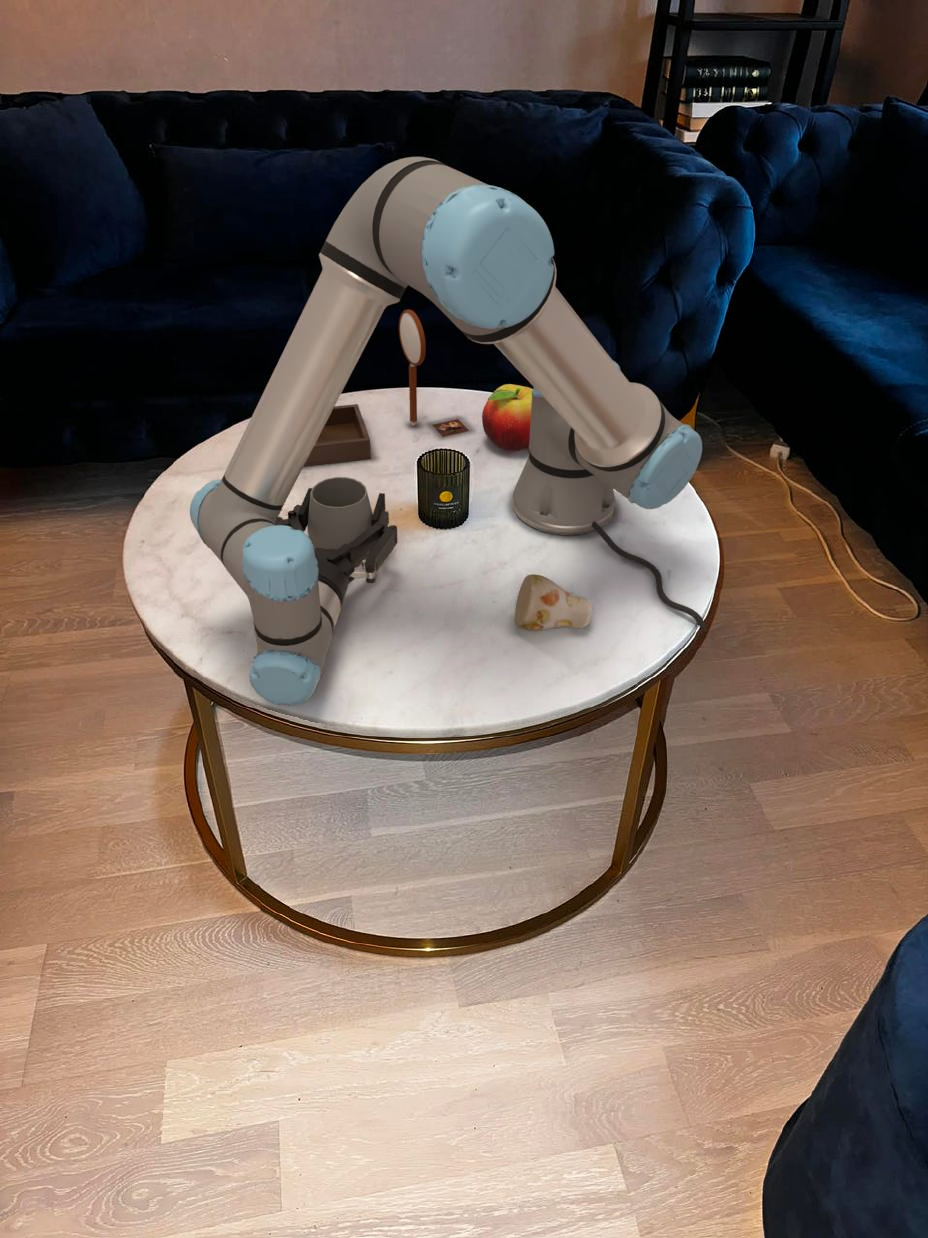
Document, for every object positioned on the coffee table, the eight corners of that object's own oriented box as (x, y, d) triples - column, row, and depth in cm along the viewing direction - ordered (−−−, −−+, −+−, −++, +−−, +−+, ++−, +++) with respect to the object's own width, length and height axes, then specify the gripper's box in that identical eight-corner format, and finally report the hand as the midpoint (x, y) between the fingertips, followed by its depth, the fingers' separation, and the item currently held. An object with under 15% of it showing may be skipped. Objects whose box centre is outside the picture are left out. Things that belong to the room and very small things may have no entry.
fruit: (558, 449, 155) (563, 393, 148) (501, 465, 151) (504, 409, 144) (523, 420, 162) (527, 366, 155) (468, 435, 158) (470, 380, 151)
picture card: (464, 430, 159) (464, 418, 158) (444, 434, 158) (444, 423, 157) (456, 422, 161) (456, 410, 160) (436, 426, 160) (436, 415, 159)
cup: (365, 527, 137) (362, 468, 131) (386, 563, 131) (383, 503, 124) (302, 540, 134) (295, 480, 128) (320, 578, 128) (313, 517, 121)
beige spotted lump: (599, 643, 119) (570, 599, 112) (529, 657, 123) (497, 616, 116) (599, 595, 124) (571, 550, 116) (531, 611, 128) (500, 568, 120)
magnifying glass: (398, 415, 163) (395, 302, 150) (407, 413, 163) (405, 300, 150) (419, 438, 157) (418, 322, 144) (429, 436, 157) (428, 320, 144)
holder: (371, 458, 152) (370, 439, 149) (295, 467, 149) (293, 448, 147) (358, 422, 161) (357, 403, 158) (286, 429, 158) (284, 411, 156)
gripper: (228, 615, 118) (273, 515, 135) (401, 630, 117) (425, 526, 134) (219, 568, 113) (267, 470, 130) (399, 582, 112) (424, 481, 129)
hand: (347, 498), depth 132 cm, fingers closed on cup, 9 cm apart
